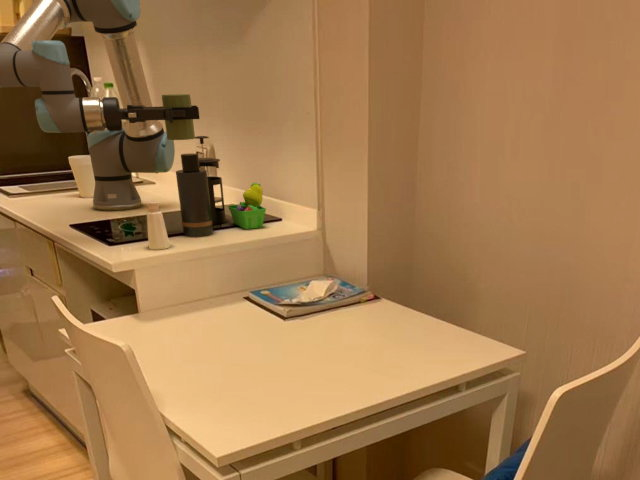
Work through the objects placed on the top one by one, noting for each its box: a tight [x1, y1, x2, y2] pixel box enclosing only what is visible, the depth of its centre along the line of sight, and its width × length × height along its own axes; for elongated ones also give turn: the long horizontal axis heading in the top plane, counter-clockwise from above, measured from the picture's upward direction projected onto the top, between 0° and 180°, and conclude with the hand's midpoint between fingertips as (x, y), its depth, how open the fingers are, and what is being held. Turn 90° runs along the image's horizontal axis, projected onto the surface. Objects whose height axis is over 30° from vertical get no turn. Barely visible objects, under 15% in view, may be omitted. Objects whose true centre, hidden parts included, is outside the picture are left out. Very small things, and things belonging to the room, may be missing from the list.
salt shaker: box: [146, 200, 171, 251], centre depth 173 cm, size 5×5×11 cm
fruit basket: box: [227, 182, 267, 230], centre depth 196 cm, size 11×9×11 cm
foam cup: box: [67, 154, 95, 199], centre depth 245 cm, size 10×9×13 cm
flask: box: [175, 152, 214, 238], centre depth 185 cm, size 8×8×20 cm
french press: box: [194, 135, 227, 226], centre depth 199 cm, size 12×9×23 cm
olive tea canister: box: [161, 93, 196, 141], centre depth 175 cm, size 7×7×10 cm
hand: (197, 112), depth 176 cm, fingers closed on olive tea canister, 7 cm apart
